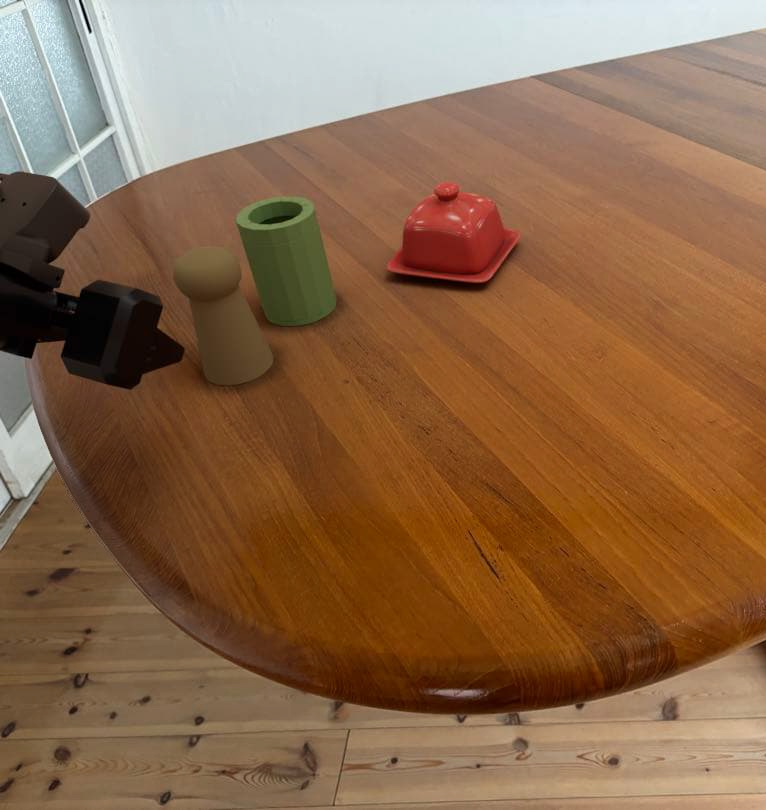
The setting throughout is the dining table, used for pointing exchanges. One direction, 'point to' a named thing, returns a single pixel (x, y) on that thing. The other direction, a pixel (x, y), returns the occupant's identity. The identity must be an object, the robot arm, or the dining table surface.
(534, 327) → the dining table surface
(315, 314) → the green cylindrical container
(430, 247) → the butter dish
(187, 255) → the tan peg doll
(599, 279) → the dining table surface
